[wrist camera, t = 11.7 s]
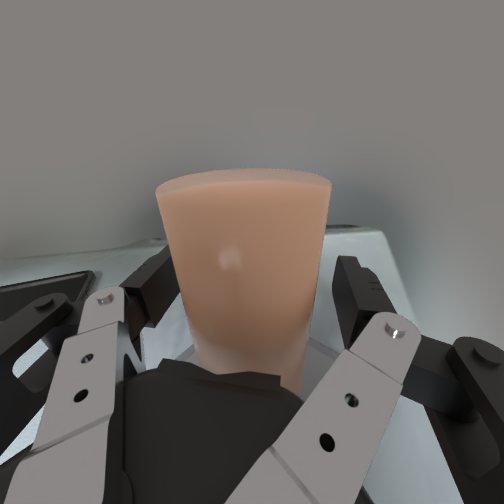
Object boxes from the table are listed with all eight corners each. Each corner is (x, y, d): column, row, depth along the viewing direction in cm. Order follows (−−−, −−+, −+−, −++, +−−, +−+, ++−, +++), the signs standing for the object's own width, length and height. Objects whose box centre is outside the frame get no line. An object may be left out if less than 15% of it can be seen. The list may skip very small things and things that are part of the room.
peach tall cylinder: (191, 418, 13) (111, 196, 6) (236, 343, 17) (218, 166, 10) (282, 473, 10) (310, 223, 4) (307, 371, 15) (340, 171, 8)
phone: (-65, 298, 23) (95, 268, 27) (-57, 306, 24) (98, 275, 28) (-153, 364, 17) (74, 311, 21) (-139, 372, 17) (79, 319, 21)
